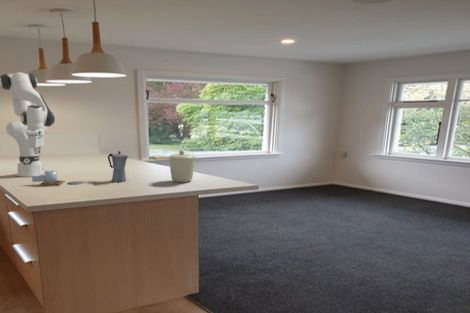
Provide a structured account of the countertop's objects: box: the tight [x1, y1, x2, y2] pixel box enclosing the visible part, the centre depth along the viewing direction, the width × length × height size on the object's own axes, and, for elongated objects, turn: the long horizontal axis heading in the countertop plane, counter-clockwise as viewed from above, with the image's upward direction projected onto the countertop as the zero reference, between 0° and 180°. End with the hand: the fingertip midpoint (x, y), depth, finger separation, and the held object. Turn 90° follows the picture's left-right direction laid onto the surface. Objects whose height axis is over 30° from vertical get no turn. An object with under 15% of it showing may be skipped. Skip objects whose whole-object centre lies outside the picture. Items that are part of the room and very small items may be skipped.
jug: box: [31, 169, 58, 184], centre depth 201 cm, size 13×6×8 cm, turn 106°
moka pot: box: [107, 151, 129, 183], centre depth 217 cm, size 10×15×20 cm, turn 78°
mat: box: [66, 180, 85, 186], centre depth 206 cm, size 10×10×1 cm
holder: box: [36, 179, 66, 188], centre depth 203 cm, size 17×13×2 cm
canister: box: [167, 149, 196, 183], centre depth 218 cm, size 18×18×21 cm
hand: (37, 154), depth 204 cm, fingers open, 4 cm apart
